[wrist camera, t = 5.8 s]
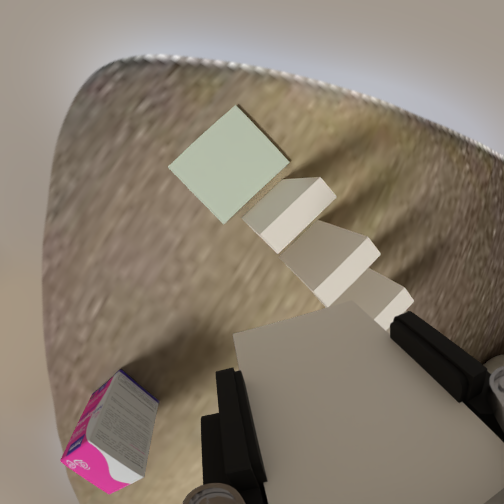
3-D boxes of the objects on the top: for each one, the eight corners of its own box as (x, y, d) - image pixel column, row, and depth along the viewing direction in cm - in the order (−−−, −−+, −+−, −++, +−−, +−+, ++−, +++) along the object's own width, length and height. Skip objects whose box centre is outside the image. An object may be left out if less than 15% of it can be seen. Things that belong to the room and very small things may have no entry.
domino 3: (357, 268, 31) (414, 301, 21) (321, 303, 31) (366, 349, 21) (348, 257, 31) (404, 287, 21) (312, 292, 31) (355, 337, 21)
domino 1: (293, 192, 29) (336, 196, 19) (253, 230, 29) (277, 254, 19) (281, 179, 28) (320, 176, 18) (241, 217, 28) (259, 234, 19)
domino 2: (327, 232, 30) (381, 254, 20) (289, 268, 30) (327, 307, 20) (317, 219, 29) (368, 236, 20) (278, 257, 30) (313, 291, 20)
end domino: (232, 333, 12) (292, 596, 3) (351, 299, 13) (531, 470, 3) (242, 365, 13) (301, 605, 3) (354, 332, 13) (506, 504, 3)
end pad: (288, 162, 28) (289, 162, 28) (223, 223, 28) (223, 224, 28) (235, 106, 26) (235, 105, 26) (168, 167, 27) (167, 167, 26)
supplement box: (119, 366, 30) (89, 440, 19) (160, 400, 31) (149, 479, 20) (89, 392, 30) (58, 462, 19) (129, 423, 31) (112, 497, 20)
